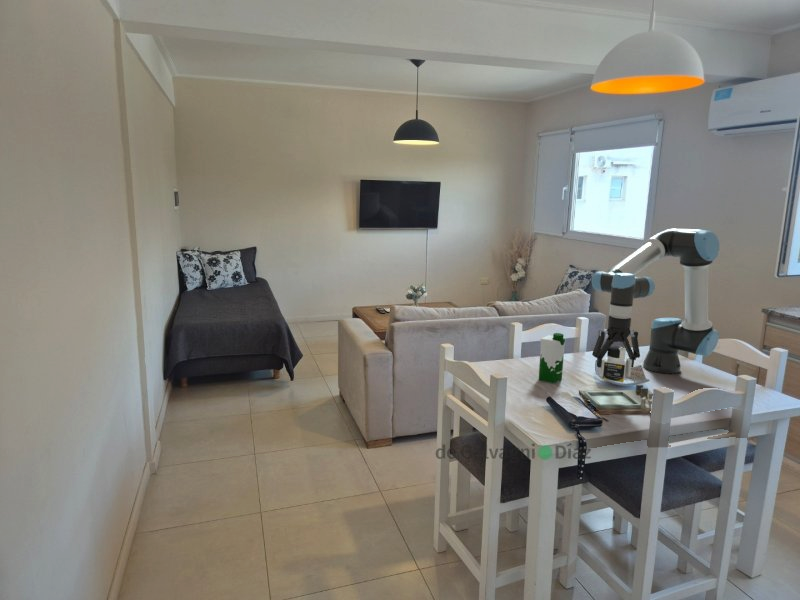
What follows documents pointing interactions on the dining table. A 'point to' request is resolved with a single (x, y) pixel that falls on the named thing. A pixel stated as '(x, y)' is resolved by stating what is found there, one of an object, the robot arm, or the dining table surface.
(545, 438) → the dining table surface
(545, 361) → the milk carton
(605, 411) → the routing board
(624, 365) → the medicine bottle
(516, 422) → the dining table surface
